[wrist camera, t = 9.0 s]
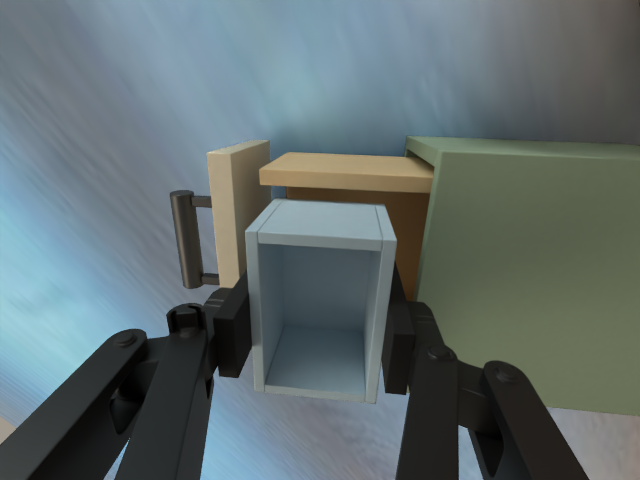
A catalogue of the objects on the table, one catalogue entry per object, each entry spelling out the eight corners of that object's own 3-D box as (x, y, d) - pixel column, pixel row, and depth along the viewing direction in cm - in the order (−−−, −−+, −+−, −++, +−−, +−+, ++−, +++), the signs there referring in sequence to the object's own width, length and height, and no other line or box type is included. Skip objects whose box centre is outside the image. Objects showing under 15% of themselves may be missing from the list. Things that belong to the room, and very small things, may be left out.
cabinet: (385, 301, 27) (401, 392, 18) (406, 135, 22) (442, 151, 13) (564, 315, 26) (673, 420, 17) (630, 144, 21) (832, 167, 12)
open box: (275, 197, 16) (244, 230, 12) (384, 203, 16) (397, 240, 11) (277, 325, 19) (254, 392, 15) (370, 333, 19) (376, 404, 14)
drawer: (213, 287, 27) (164, 350, 20) (197, 137, 23) (125, 148, 16) (421, 304, 26) (448, 377, 19) (449, 147, 21) (498, 165, 14)
